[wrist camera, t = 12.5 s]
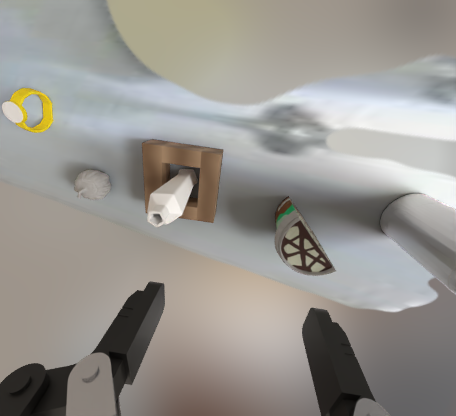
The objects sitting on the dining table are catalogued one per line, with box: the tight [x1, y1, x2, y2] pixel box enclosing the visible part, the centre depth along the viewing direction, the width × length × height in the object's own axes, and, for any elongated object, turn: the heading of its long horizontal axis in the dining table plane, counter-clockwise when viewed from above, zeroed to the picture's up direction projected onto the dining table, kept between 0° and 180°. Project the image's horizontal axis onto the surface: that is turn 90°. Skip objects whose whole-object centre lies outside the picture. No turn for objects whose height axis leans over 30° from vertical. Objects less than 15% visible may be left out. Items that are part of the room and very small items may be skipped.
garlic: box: [74, 170, 111, 200], centre depth 36 cm, size 6×5×5 cm
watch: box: [2, 88, 53, 133], centre depth 31 cm, size 6×3×6 cm, turn 161°
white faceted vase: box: [147, 169, 198, 227], centre depth 30 cm, size 5×4×15 cm
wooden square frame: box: [142, 139, 223, 223], centre depth 35 cm, size 12×12×4 cm
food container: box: [275, 196, 336, 276], centre depth 35 cm, size 12×6×10 cm, turn 37°
